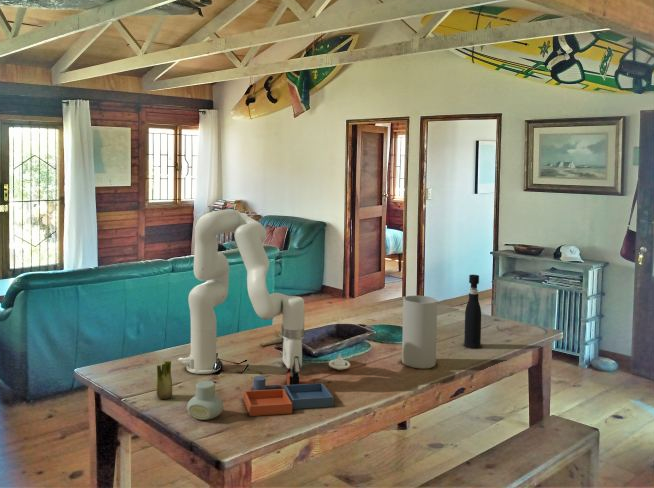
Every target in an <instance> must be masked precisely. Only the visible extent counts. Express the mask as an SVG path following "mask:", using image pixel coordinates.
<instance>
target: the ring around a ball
mask: <svg viewBox="0 0 654 488" xmlns="http://www.w3.org/2000/svg"><path fill="white" fill-rule="evenodd" d="M328 366H329V367H330V368H332V369H334V370H338V371H342V370H346V369H349V368H350V367H351V363H350V361H348V360H345V359H343V356H342V354H341V353H339V354H338V356H336V359H332V360H330V361H328Z"/></svg>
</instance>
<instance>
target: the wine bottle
mask: <svg viewBox="0 0 654 488" xmlns="http://www.w3.org/2000/svg"><path fill="white" fill-rule="evenodd" d="M468 283H469V284H470V289H469V292H468V301H467V303H466V306H465V310H464V339H463V341H464V342H463V345H464V347H466V348H468V349H480V348H481V343H482V342H481V341H482V339H481V338H482V308H481V305H480V301H479V290H478V285H479V284H480V275H479V274H469V275H468Z"/></svg>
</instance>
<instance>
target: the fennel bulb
mask: <svg viewBox="0 0 654 488" xmlns="http://www.w3.org/2000/svg"><path fill="white" fill-rule="evenodd" d="M171 370H172V360H163V362H162V363H160V364H158V363H157V365H156V390H155V391H156V397H157V399H158V400H168V399H170V398H172V396H173V379H172V372H171Z"/></svg>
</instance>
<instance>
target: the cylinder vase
mask: <svg viewBox="0 0 654 488" xmlns="http://www.w3.org/2000/svg"><path fill="white" fill-rule="evenodd" d="M437 322H438V299H437V298H435V297H430V296H427V295H406V296H404V297H403V298H402V336H401V337H402V339H401V340H402V341H401V342H402V343H401V362H402V364H404V365H405V366H407V367H410V368H413V369H420V370H425V369H426V370H427V369H431V368H434V367H435V366H436V364H437V363H436V362H437V328H438V325H437V324H438V323H437Z"/></svg>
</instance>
